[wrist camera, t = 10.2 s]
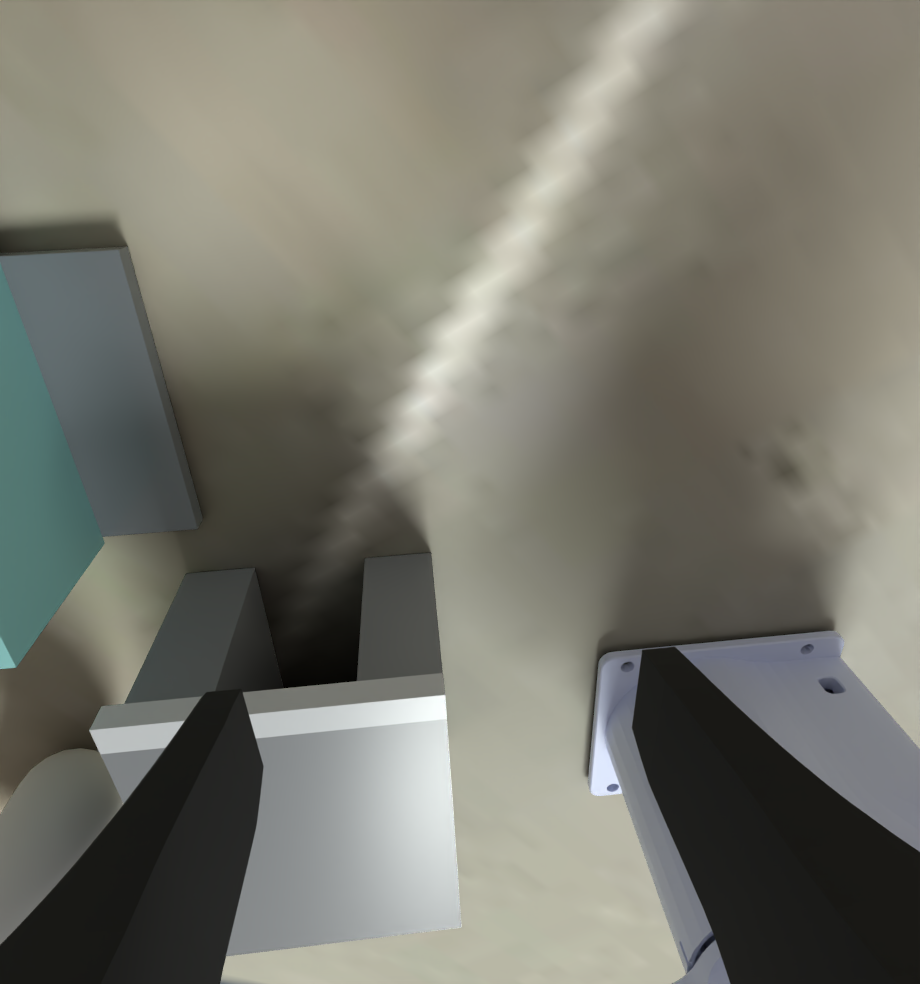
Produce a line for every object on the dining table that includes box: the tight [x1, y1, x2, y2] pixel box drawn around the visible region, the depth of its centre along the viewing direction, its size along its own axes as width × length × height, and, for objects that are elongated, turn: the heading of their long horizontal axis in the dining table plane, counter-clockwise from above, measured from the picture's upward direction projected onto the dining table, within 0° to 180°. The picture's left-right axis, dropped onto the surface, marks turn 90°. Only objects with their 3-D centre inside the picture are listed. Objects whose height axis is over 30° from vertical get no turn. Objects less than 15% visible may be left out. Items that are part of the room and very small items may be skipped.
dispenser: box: [89, 553, 461, 956], centre depth 20 cm, size 8×10×7 cm
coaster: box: [0, 246, 203, 537], centre depth 17 cm, size 8×8×1 cm
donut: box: [0, 748, 123, 944], centre depth 20 cm, size 10×4×10 cm, turn 145°
